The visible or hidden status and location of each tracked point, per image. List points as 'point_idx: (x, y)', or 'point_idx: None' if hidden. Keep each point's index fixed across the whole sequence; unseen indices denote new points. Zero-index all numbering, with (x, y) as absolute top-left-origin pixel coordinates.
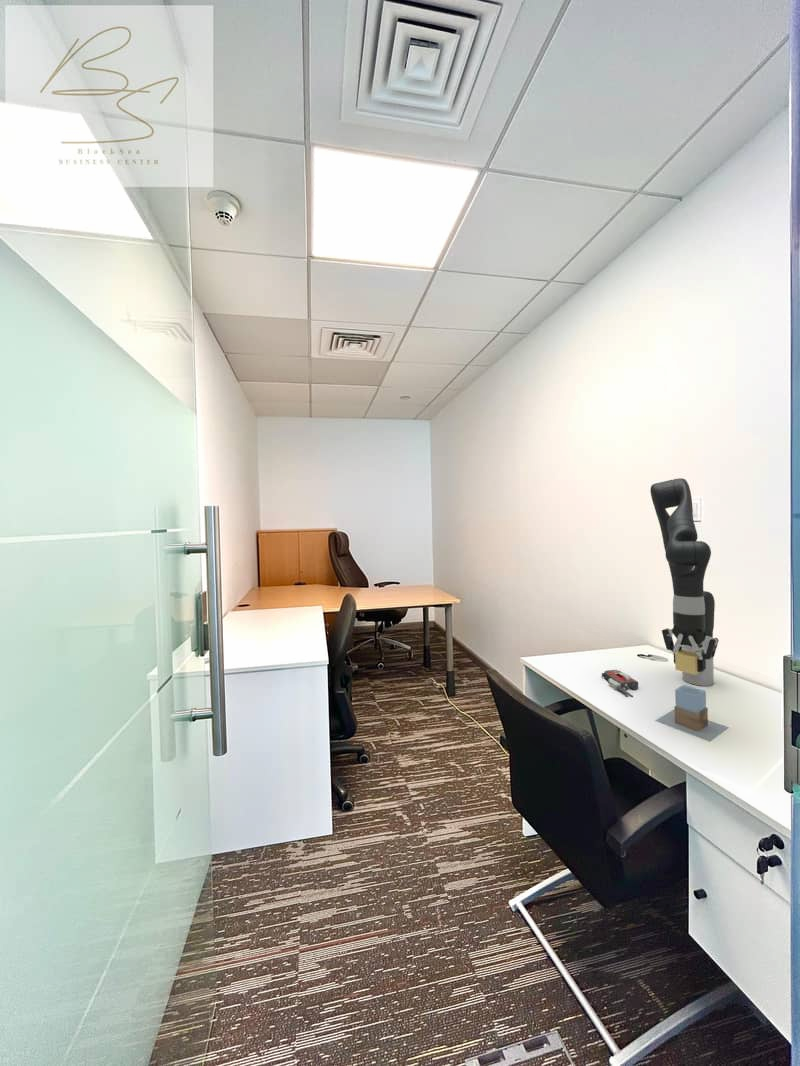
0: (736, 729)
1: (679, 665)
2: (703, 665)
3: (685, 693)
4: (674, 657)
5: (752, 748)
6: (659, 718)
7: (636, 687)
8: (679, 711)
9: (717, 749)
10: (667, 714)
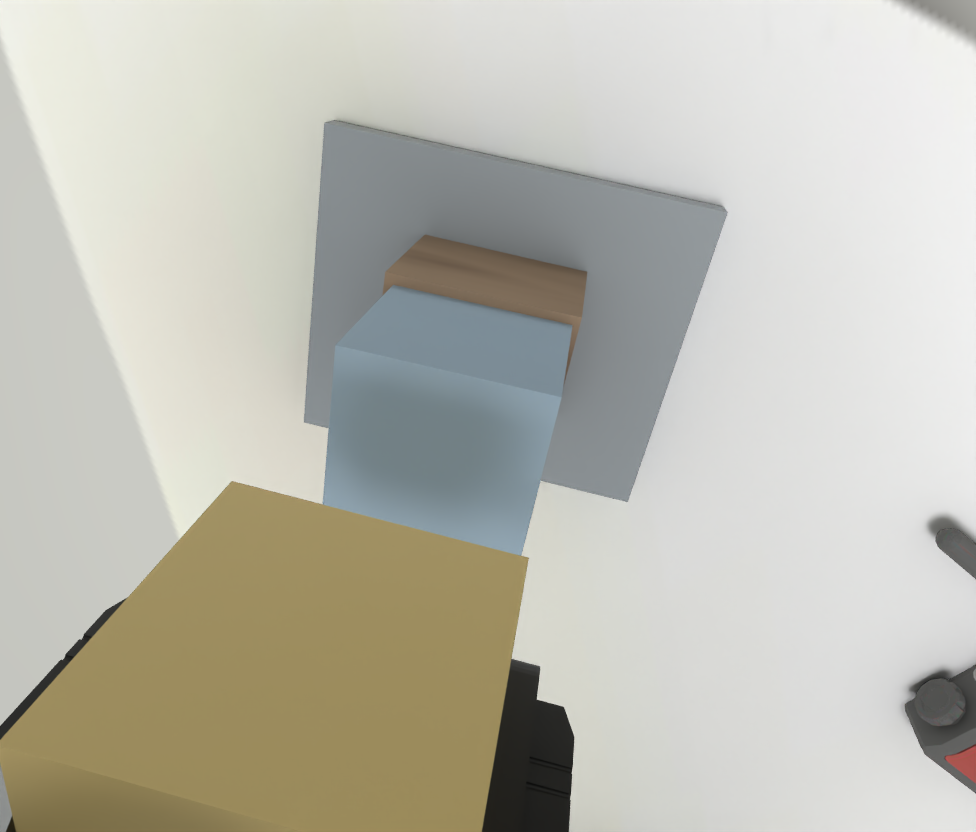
0: (291, 452)
1: (443, 609)
2: (57, 666)
3: (454, 368)
4: (554, 818)
5: (158, 259)
6: (700, 277)
7: (922, 699)
8: (541, 297)
9: (284, 88)
10: (658, 384)
